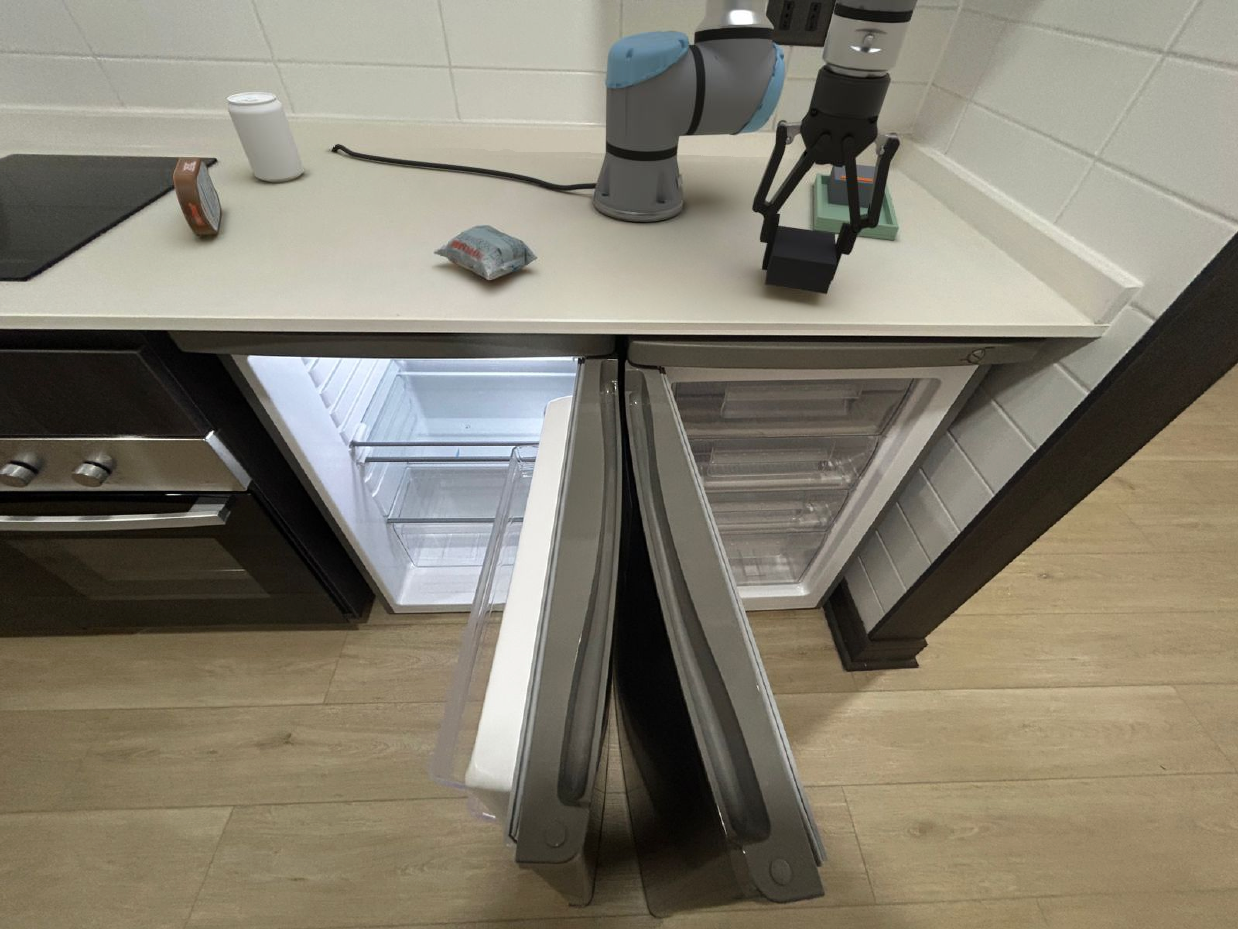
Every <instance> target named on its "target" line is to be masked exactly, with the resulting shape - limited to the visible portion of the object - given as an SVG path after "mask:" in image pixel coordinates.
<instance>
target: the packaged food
mask: <svg viewBox="0 0 1238 929" xmlns="http://www.w3.org/2000/svg"><path fill="white" fill-rule="evenodd" d="M433 254H434V255H438V256H440V257H444V258H446V259H447V260H448V261H449V262H450V263H452V264H454V265H457V266H459V267H462V268H464V269H467V270H470V271H472V272H473V273H474V274H476V275H478V276H481V277H482V278H484V279H485V280H487V281H492V280H495V279H497V278H500V277H503V276H506V275H509V274H510V273H512V272H513V273H514V272H515V271H518V270H520V269H523V268H525V267H526V266H529V265H530V264H531V263H532V262H533V261H536V260H537V259H538V256H537V255H536V254H535V253H534V252H533V251H532V250H531V248H530V247H529V246H528V245H527V244H526V243H525V242H524V241H523V240H522V239H520V238H516V237H514V236H512V235H509V234H507V233H505V232H502V231H500V230H498V229H496V228H495V227H493V226H492V225H489V224H488V225H486V224H485V225H475V226H471V228H468V229H466V230H464V231H461V232H460V233H459V234H458V235H456V236H454V237H453V238H451V239H450V240H449V241H448V242H447V244H443V245H442V246H441V247H440V248H437V249H435V250H434V251H433Z"/></svg>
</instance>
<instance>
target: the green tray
mask: <svg viewBox="0 0 1238 929" xmlns="http://www.w3.org/2000/svg"><path fill="white" fill-rule="evenodd" d="M829 177H830V174H827V173H819V172H818V173H816V175H815V179H814V182H813V230H814V231H821V232H828V233H835V234H839V232H840V229H841V226H842V223H850V215H849V206H846V205H838V204H830V203H828V190H827V184H828V180H829ZM867 211H868V208H862V207H860V215H863V214H867ZM899 228H900V226H899V222H898V220H897V216H896V212H895V208H894V204H893V200H892V197H891V193H890V190H889V186H888V181H887V182H886V187H885V193H884V198H883V203H882V208H881V213H880V218H879V223H878V226H877V227H875V228H873V229H871V228H864V229H862V230H861V232H860V233H858V235H857V237H866V238H873V239H881V240H889V241H895V238H896V237H897V234H898V232H899Z"/></svg>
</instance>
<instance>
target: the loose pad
mask: <svg viewBox="0 0 1238 929" xmlns="http://www.w3.org/2000/svg"><path fill="white" fill-rule="evenodd" d="M836 241H837V240H836V233H834V232H827V231H819V230H814V229H806V228H799V227H792V226H785V225H778V229H777V233H776V237H775V241H774V244H773V248H772V252H771V256H770V260H769V264H768V268H767V270H766V273H765V279H764V280H765V281H764V285H766V286H772V287H778V288H784V289H790V290H798V291H805V292H811V293H815V294H816V293H817V294H823V295H827V294H828V292H829V289H830V287H831V283H832V278H833V275H834V272H835V269H836V266H837V259H836Z"/></svg>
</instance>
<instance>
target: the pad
mask: <svg viewBox="0 0 1238 929" xmlns="http://www.w3.org/2000/svg"><path fill="white" fill-rule="evenodd" d="M831 166H832V167H831V170H830V174H829V175H830V177H829V180H828V184H827V190H828V203H830V204H838V205H846V206H849V205H848V194H847V184H846V173H845V166H843V167H842V168H841V167H835V166H833V165H831ZM856 167H857V180H858V192H859V204H860V207H862V208H868V205H869V200H870V194H871V189H872V183H873V178H874V172H875V167H876V166H873V165H864V164H856Z"/></svg>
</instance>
